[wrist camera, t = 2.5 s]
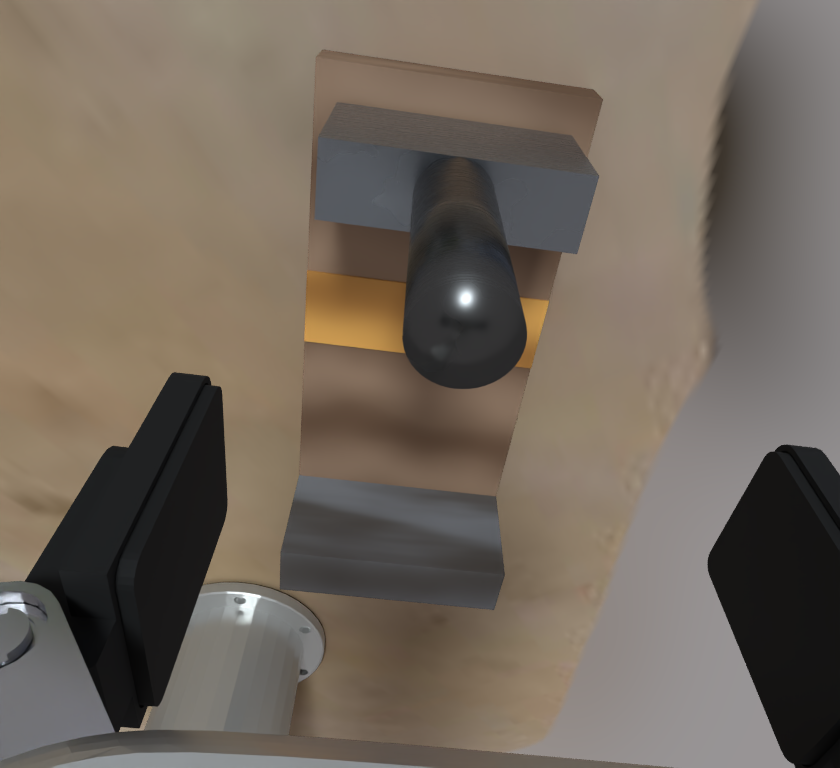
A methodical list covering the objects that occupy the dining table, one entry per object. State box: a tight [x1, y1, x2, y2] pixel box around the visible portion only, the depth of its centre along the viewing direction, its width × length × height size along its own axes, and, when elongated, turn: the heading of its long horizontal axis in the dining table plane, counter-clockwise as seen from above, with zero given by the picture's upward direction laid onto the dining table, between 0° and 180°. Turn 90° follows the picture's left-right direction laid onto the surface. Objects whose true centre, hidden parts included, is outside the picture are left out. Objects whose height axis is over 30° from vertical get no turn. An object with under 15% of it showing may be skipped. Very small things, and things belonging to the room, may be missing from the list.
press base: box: [280, 50, 603, 610], centre depth 33 cm, size 26×12×8 cm, turn 172°
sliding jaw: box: [314, 102, 599, 389], centre depth 23 cm, size 3×10×16 cm, turn 83°
